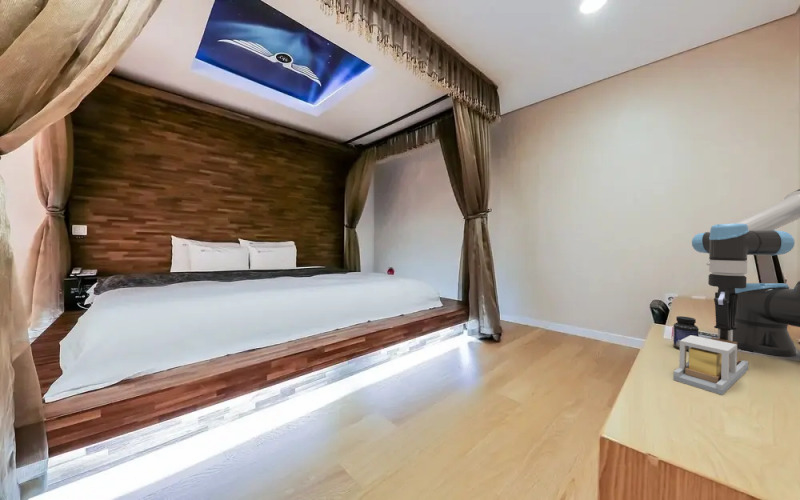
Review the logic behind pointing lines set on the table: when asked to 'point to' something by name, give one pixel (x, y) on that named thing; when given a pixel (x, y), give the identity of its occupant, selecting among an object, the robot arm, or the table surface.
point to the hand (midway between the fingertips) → (724, 350)
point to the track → (728, 371)
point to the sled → (706, 363)
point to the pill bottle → (684, 330)
